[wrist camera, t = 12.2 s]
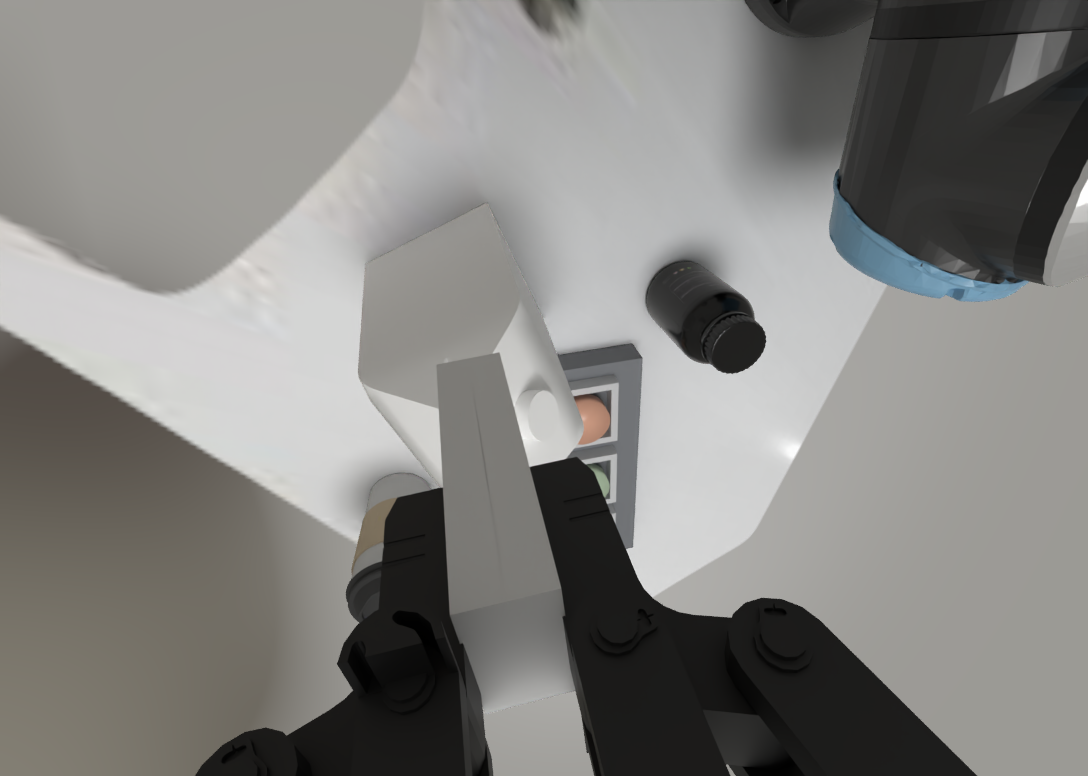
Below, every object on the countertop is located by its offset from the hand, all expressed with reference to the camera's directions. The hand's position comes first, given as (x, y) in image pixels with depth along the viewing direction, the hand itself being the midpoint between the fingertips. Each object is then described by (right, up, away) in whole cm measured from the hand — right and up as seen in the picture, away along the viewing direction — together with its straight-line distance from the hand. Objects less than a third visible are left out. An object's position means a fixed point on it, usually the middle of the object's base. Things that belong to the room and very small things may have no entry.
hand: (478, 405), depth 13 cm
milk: (-6, +9, +35) cm, 36 cm away
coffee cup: (-14, -12, +46) cm, 50 cm away
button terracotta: (+5, -2, +40) cm, 40 cm away
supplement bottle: (+15, +10, +39) cm, 43 cm away
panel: (+5, -8, +48) cm, 49 cm away
